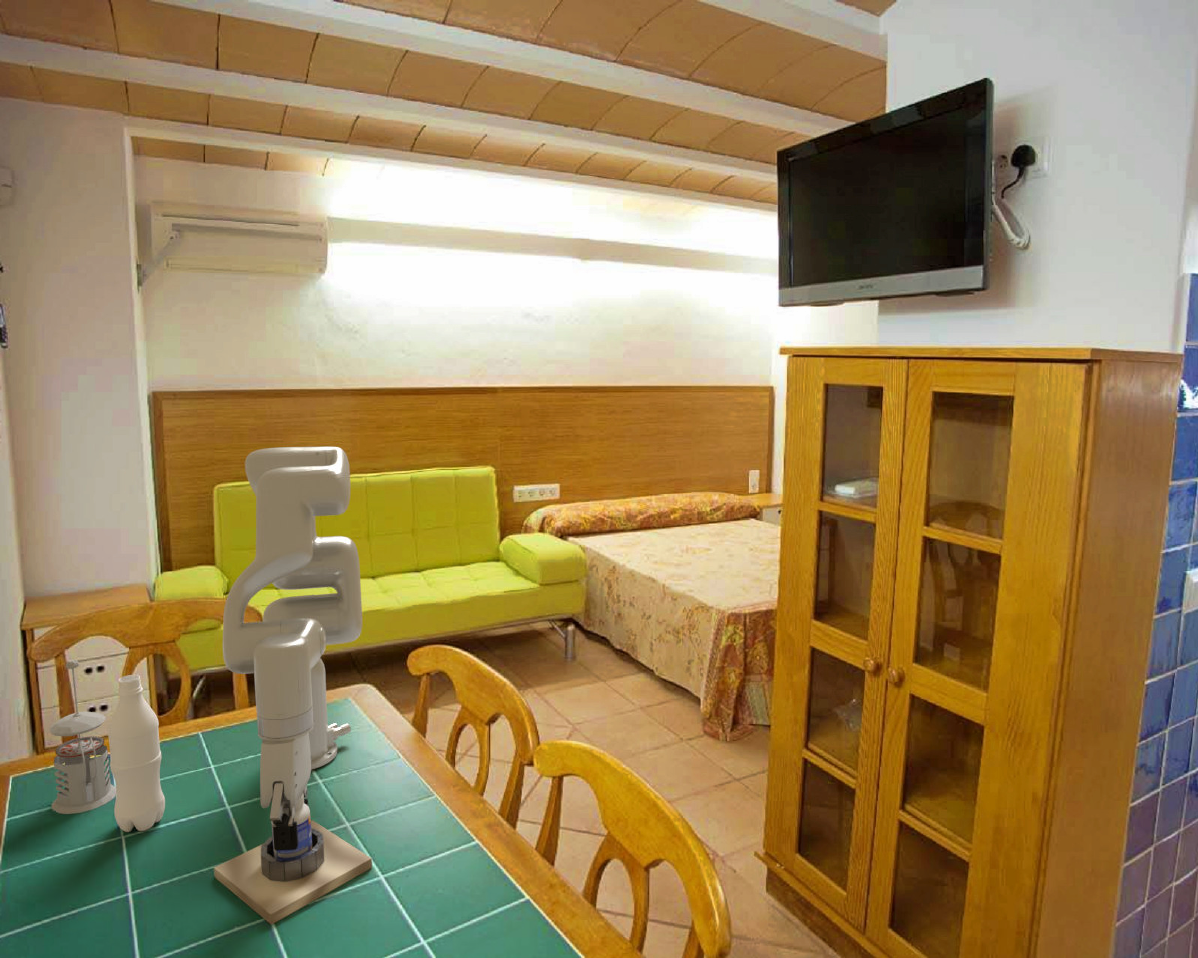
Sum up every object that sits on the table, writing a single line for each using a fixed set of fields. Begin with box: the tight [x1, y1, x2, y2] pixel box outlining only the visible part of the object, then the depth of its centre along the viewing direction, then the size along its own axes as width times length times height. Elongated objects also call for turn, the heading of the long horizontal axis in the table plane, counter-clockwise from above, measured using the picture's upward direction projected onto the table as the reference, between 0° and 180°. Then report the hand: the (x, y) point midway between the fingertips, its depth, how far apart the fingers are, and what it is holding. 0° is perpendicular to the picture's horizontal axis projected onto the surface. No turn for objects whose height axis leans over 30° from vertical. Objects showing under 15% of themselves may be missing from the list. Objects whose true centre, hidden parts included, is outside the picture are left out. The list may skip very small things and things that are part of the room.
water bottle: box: [107, 674, 166, 833], centre depth 130 cm, size 7×7×25 cm
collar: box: [261, 828, 324, 882], centre depth 119 cm, size 9×9×3 cm
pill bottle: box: [270, 793, 312, 859], centre depth 118 cm, size 5×5×10 cm
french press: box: [49, 659, 116, 815], centre depth 137 cm, size 10×12×25 cm
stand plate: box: [213, 820, 373, 925], centre depth 119 cm, size 16×16×2 cm
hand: (292, 835), depth 119 cm, fingers closed on pill bottle, 5 cm apart
